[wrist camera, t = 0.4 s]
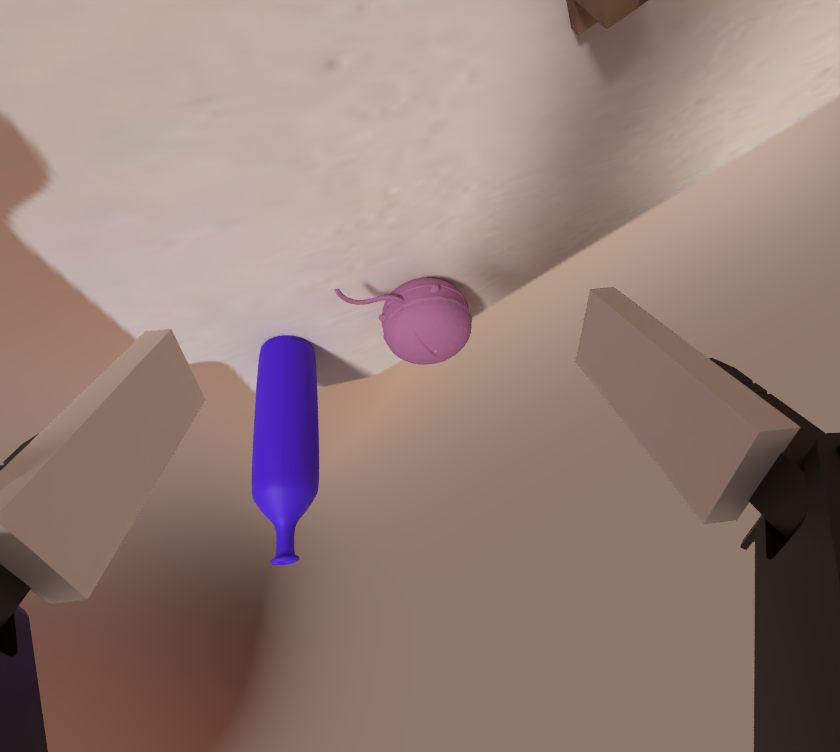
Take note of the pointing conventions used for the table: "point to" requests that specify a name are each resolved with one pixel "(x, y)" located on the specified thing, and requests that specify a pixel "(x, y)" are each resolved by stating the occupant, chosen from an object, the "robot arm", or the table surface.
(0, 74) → the table surface
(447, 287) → the pink toy mouse
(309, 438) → the bottle
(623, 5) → the slot stand
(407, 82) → the table surface
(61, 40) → the table surface
